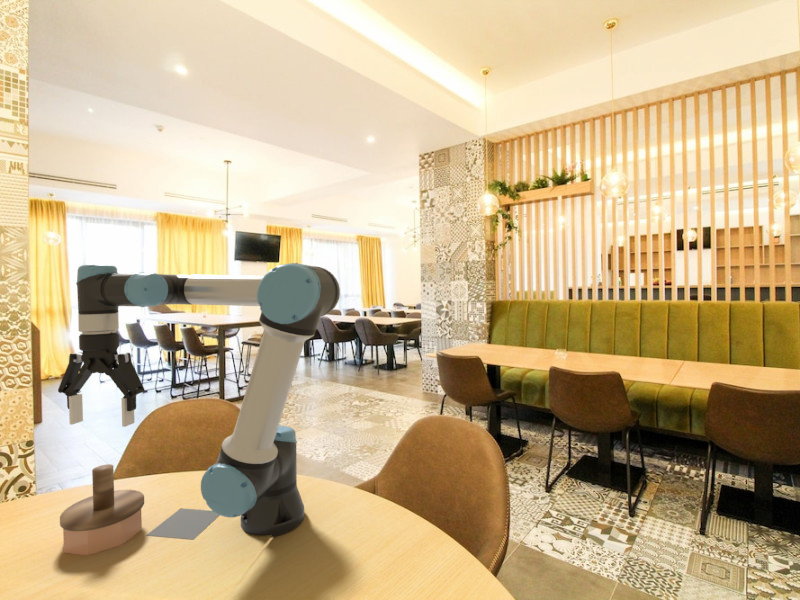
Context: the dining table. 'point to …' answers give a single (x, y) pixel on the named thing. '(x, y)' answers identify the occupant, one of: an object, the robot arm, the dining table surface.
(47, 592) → the dining table surface
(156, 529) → the mat
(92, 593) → the dining table surface
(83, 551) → the bowl
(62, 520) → the lid
